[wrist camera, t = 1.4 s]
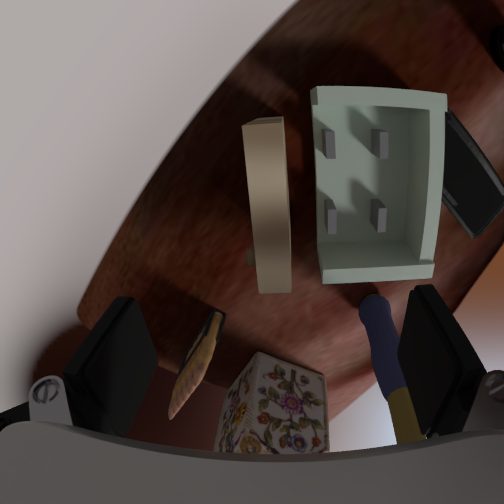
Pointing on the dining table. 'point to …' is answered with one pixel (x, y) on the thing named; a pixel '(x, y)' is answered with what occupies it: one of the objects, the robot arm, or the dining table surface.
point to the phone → (469, 180)
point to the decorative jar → (274, 410)
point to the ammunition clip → (196, 360)
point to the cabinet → (377, 181)
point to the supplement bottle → (498, 45)
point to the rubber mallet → (389, 367)
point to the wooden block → (268, 203)
